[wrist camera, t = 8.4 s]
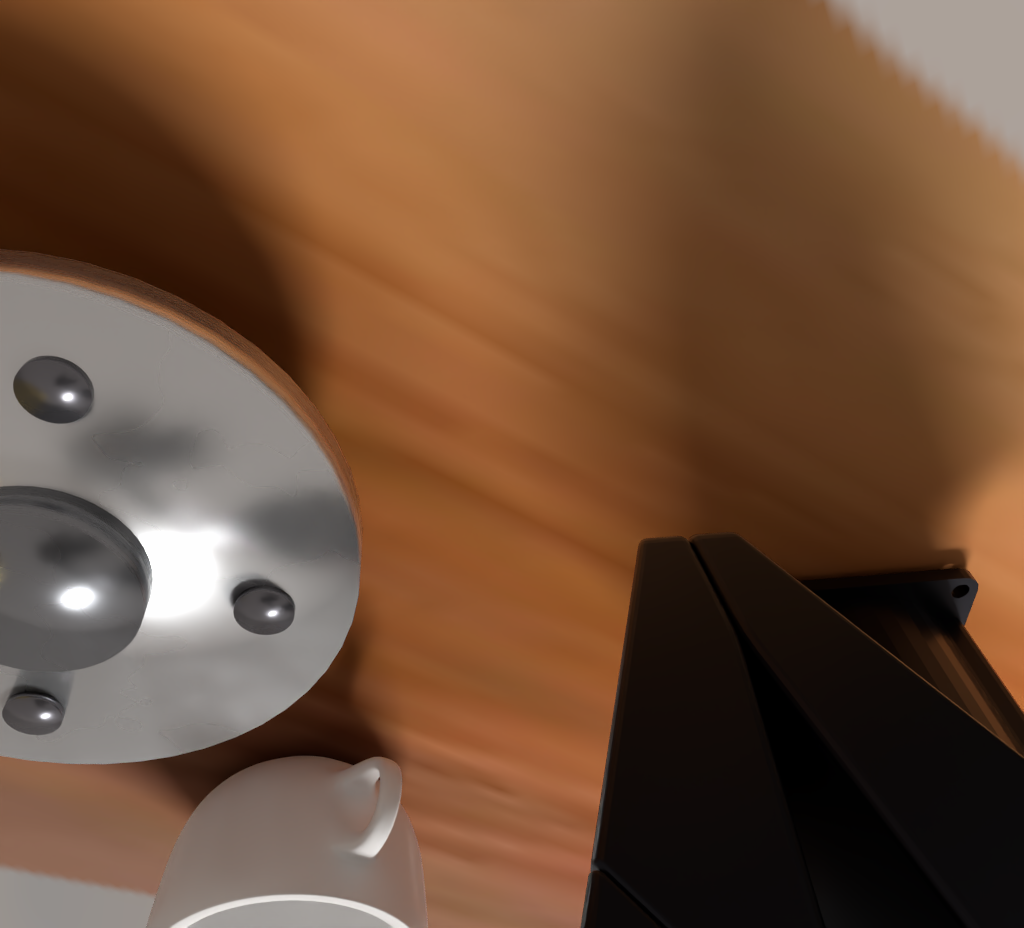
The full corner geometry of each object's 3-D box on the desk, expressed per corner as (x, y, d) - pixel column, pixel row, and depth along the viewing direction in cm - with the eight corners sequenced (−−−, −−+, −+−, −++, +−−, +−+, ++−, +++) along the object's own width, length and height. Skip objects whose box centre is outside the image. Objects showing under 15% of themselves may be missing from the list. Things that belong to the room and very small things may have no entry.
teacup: (357, 886, 32) (348, 1053, 28) (144, 833, 29) (97, 1010, 25) (507, 722, 27) (524, 891, 23) (273, 641, 25) (242, 816, 20)
